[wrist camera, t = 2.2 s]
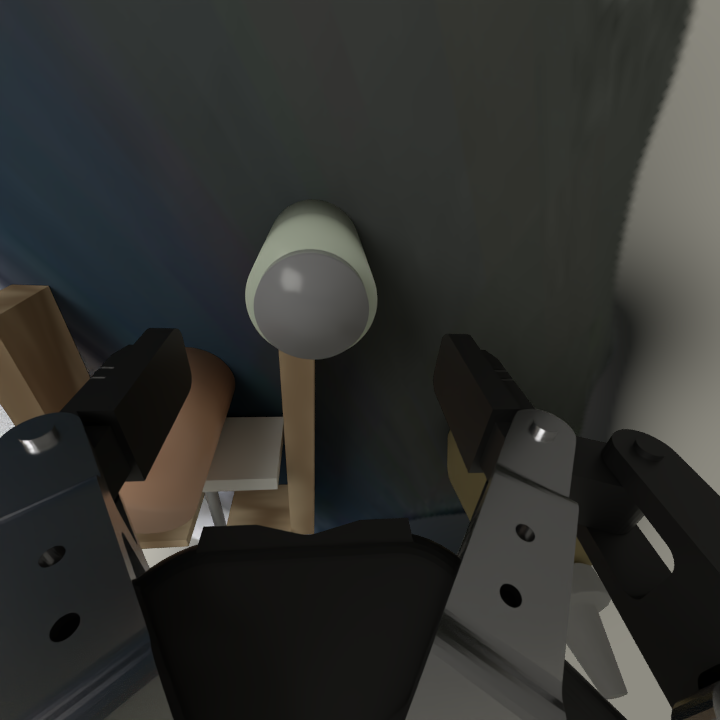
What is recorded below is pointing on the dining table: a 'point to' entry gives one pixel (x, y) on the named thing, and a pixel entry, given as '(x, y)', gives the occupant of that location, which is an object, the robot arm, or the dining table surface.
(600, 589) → the squeeze bottle
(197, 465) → the terracotta jar
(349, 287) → the sage jar
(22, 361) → the lane
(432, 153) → the dining table surface
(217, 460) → the pusher plate
